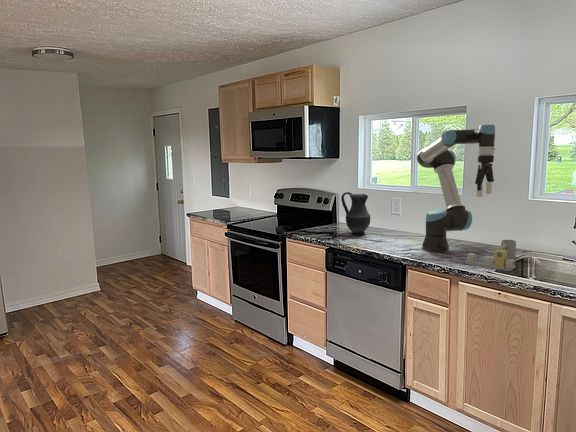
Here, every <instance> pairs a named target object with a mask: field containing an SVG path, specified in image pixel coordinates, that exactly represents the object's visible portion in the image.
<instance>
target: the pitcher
mask: <svg viewBox="0 0 576 432" xmlns="http://www.w3.org/2000/svg"><path fill="white" fill-rule="evenodd" d="M346 195H349V197H350V200H351V206H350V208H348V206H347V203H346V201H345V196H346ZM368 198H369V195H367V194H365V193H352V192H350V191H346V192H344V193H342V195H341V199H340V200H341V204H342V206H343V208H344V211H345V222H346V223H345V224H346V226H347V228H348V229H349V230H350V231H351V236H354V237H355V236H356V237H361V236H365V235H366V233H365V231H366V230H367V229H368V228H369V227H370V224H371V215H370V213H369V211H368V209H367V205H366V202H367V200H368Z"/></svg>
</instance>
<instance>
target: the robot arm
mask: <svg viewBox="0 0 576 432" xmlns="http://www.w3.org/2000/svg"><path fill="white" fill-rule="evenodd" d="M495 140H496V126H495V124H481V125H479V127H478V128H476V129H475V128H473V129H471V128H470V129H446V130H444V131H443V132H442V134H441V136H440V138H439V139H437V140H435V141H434V142H433V143H431V144H430V145H429V146H426V147H423V148H422V149H420V150H419V151H418V153H417V154H416V161H417V163H418V165H420V166H421V167H422V168H427V169H433V170H434V173H436V174H437V176H438V180H439V184H440V187H441V192H442V196H443V199H444V203H445V207H446V208H445V209H441V208H439V209H432V210H429V211H428V212H426V215H425V236H424V240H423V241H422V242H423V243H422V246H421V248H422V250H424V251H425V252H430V253H431V252H432V253H443V252H448V251H450V244H449V241H448V238H447V232H455V231H456V232H457V231H459V232H461V231H466V230H468V229H470V227H471V226H472V223H473V214H472V212H471V211H470V210H469V209H468V210H467V209H466V206H465V205H463V204H462V202H461V201H462V200H461V198H460V195H459V191H458V187H457V183H456V179H455V176H454V172H453V169H454V167H455V165H456V158H457V157H456V154H455V152H454V151H453V150H452V149H451V148H452V147H453V146H456V145H466V144H467V145H469V144H471V145H472V144H473V145H474V144H478V145H477V146H478V148H477V154H478V155H477V163H479V164H478V167H477V168H478V169H477V172H476V177H475V182H474V184H475V185H476V197H477V198H483V193H484V192H483V191H484V184H483V183H484V179H485V178H486V179H485V180H486V182H485V194H486V195H492V192H493V191H492V189H493V188H492V187H493V186H492V185H493V184H492V183H493V182H494V181H495V179H494V171H493V163H494V161H495V159H494V158H495V156H494V154H495V150H496V148H495ZM480 163H481V164H480Z"/></svg>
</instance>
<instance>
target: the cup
mask: <svg viewBox="0 0 576 432" xmlns="http://www.w3.org/2000/svg"><path fill="white" fill-rule="evenodd" d="M500 245H501V246H500V250H506V251H507V259H515V258H516V252H517V241H516V240H514V239H502V240H501V242H500Z"/></svg>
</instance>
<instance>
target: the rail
mask: <svg viewBox="0 0 576 432" xmlns="http://www.w3.org/2000/svg"><path fill="white" fill-rule="evenodd" d="M494 259H495V255H494V256H493V255H485V256H484V259H481V258H477V254H476V253H473V252H469V253H467V255H466V261H465V262H464V264H465V265H468V264H470V266H474V265H476V267H480V266H482V267H481V268H486V267H487V269H492V270H498V271H499V270H500V271H504V272H505V271H506V272H512V271H513V270H514V269H516V268H517V266H516V260H515V258H513V259H507V260H506V263H505V266H499V265H494Z"/></svg>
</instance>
